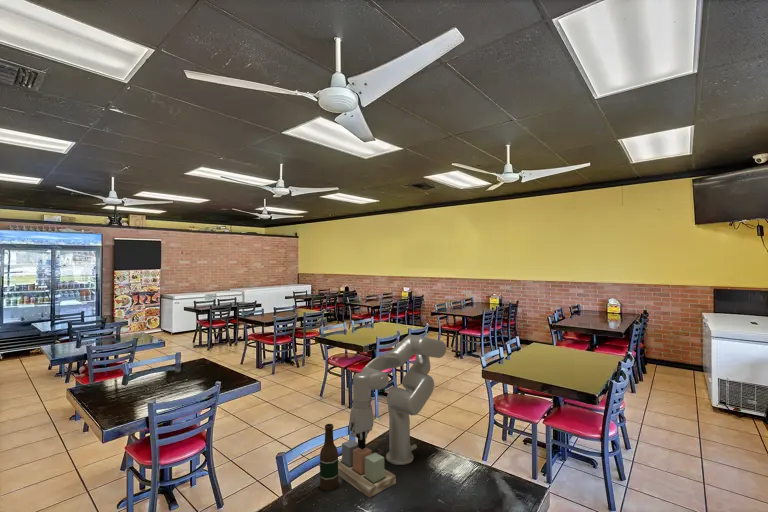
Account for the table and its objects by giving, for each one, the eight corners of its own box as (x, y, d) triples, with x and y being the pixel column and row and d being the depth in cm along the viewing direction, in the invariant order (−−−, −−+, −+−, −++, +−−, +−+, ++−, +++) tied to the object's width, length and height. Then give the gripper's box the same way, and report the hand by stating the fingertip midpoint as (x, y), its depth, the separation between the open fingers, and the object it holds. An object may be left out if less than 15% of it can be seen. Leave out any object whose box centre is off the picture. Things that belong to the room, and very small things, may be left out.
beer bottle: (334, 492, 141) (335, 429, 142) (316, 490, 143) (316, 428, 144) (341, 481, 149) (341, 421, 150) (323, 479, 150) (323, 420, 151)
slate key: (352, 457, 162) (352, 439, 162) (359, 462, 158) (359, 443, 158) (341, 462, 158) (341, 443, 159) (349, 467, 154) (349, 448, 155)
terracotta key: (363, 464, 156) (363, 445, 156) (371, 469, 152) (371, 450, 152) (353, 469, 152) (353, 450, 153) (361, 474, 148) (361, 454, 149)
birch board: (356, 459, 166) (356, 452, 166) (395, 483, 147) (395, 475, 147) (331, 470, 157) (331, 463, 157) (369, 497, 138) (369, 489, 138)
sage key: (375, 472, 150) (375, 452, 151) (384, 477, 146) (384, 457, 146) (364, 477, 146) (364, 457, 147) (373, 483, 142) (373, 462, 143)
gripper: (369, 397, 161) (369, 439, 160) (342, 405, 151) (341, 450, 150) (381, 401, 156) (380, 445, 155) (353, 410, 146) (352, 457, 145)
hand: (361, 447), depth 152 cm, fingers closed
